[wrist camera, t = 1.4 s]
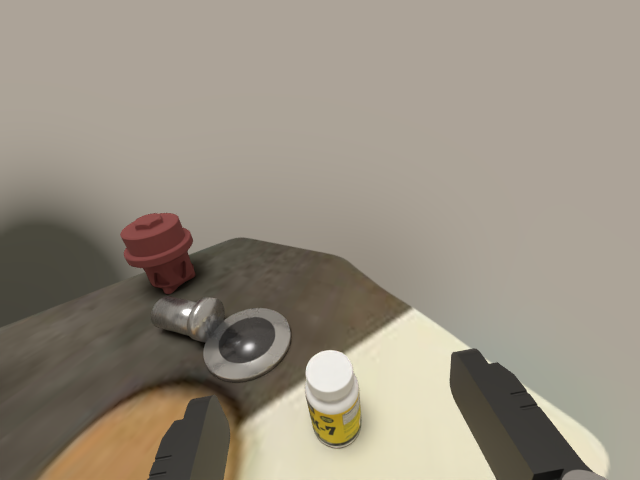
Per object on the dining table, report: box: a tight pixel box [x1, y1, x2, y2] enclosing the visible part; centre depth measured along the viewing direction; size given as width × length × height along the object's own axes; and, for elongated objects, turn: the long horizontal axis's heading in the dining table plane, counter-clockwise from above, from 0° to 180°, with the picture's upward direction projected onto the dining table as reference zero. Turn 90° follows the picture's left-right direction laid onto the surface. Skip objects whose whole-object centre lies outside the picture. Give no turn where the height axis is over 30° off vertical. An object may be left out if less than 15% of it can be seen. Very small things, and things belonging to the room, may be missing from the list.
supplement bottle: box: [305, 350, 361, 448], centre depth 28 cm, size 5×5×8 cm
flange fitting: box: [151, 296, 291, 382], centre depth 40 cm, size 19×11×6 cm, turn 69°
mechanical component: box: [120, 213, 195, 294], centre depth 50 cm, size 12×10×10 cm
